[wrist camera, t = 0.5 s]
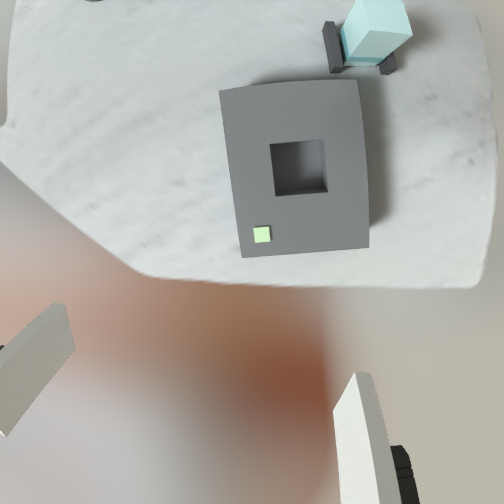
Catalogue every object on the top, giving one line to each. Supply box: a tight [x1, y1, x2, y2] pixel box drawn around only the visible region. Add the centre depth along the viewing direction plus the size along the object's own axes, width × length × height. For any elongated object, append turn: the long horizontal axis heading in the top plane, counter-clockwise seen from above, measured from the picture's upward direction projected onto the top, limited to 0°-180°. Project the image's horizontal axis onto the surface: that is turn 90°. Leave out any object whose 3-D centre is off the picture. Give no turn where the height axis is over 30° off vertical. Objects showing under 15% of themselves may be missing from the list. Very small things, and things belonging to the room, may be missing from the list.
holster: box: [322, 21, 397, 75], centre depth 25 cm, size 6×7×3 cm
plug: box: [338, 0, 413, 67], centre depth 21 cm, size 4×4×12 cm
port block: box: [219, 79, 369, 258], centre depth 30 cm, size 18×14×5 cm
